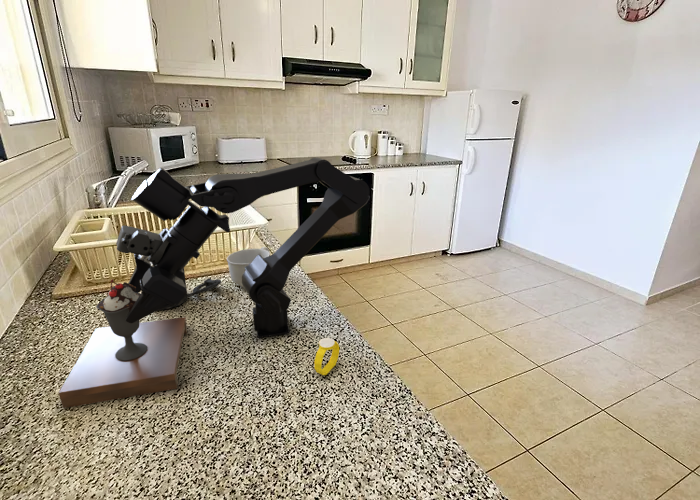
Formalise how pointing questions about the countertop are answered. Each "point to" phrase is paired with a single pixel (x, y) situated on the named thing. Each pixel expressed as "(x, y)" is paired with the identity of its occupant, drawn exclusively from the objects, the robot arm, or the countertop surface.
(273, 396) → the countertop surface
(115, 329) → the sundae
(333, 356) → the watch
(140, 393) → the shelf
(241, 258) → the teacup
